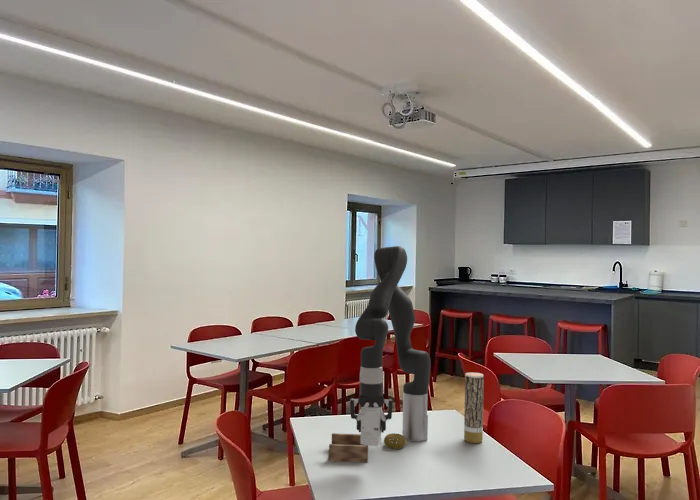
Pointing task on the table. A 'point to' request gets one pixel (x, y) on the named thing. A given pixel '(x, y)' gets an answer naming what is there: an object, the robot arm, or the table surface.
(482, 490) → the table surface
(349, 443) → the u rest
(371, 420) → the skincare box
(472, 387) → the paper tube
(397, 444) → the sculpture
